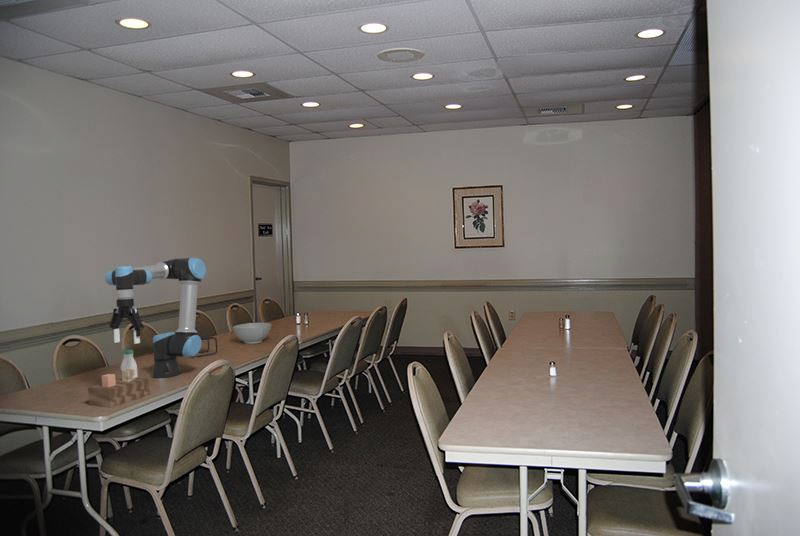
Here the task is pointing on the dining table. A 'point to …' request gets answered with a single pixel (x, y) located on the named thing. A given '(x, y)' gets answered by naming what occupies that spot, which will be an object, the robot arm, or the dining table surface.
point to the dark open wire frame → (208, 344)
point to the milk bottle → (129, 362)
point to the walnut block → (118, 392)
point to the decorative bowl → (252, 332)
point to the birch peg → (128, 375)
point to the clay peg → (108, 380)
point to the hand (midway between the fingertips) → (126, 342)
